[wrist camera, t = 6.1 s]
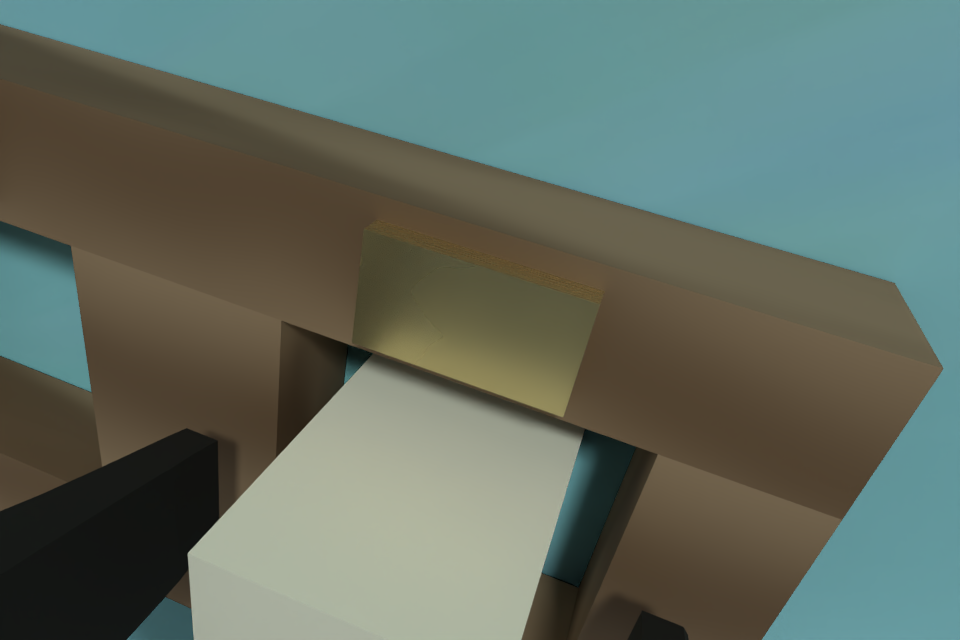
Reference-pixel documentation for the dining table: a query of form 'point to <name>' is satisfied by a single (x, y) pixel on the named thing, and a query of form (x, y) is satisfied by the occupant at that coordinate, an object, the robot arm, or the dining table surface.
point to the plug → (391, 519)
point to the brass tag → (472, 316)
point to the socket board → (322, 358)
